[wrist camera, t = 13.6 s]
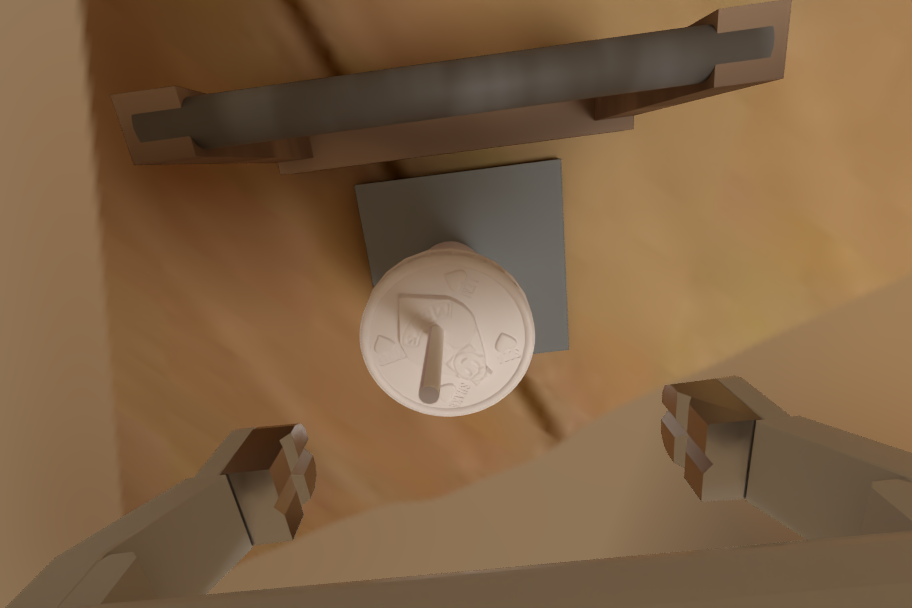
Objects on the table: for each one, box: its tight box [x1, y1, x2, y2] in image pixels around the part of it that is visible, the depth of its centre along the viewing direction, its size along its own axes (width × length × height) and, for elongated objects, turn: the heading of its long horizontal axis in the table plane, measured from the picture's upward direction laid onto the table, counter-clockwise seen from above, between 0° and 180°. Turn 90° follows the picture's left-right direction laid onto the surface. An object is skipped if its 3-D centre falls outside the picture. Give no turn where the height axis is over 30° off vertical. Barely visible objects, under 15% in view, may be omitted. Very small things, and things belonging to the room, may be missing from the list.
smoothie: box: [360, 241, 535, 416], centre depth 18 cm, size 6×6×14 cm
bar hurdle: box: [110, 0, 792, 175], centre depth 17 cm, size 3×18×12 cm, turn 97°
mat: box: [354, 159, 569, 354], centre depth 25 cm, size 11×11×1 cm
